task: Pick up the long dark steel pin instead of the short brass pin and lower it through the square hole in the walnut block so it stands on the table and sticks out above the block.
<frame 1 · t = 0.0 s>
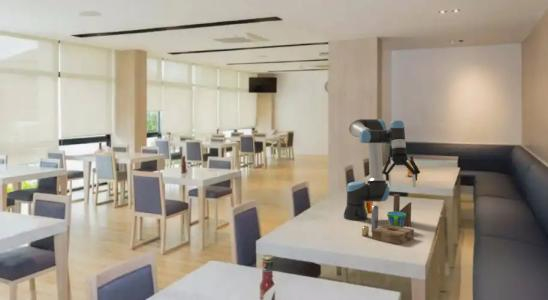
hand: (402, 186, 240), 28 cm above the table, tool tilted 20°, fingers open, 13 cm apart
hole block: (392, 238, 241), on the table
snack cup: (396, 231, 258), on the table
short brass pin: (365, 235, 246), on the table
long steel pin: (374, 232, 254), on the table
brown forked bracket: (401, 224, 273), on the table
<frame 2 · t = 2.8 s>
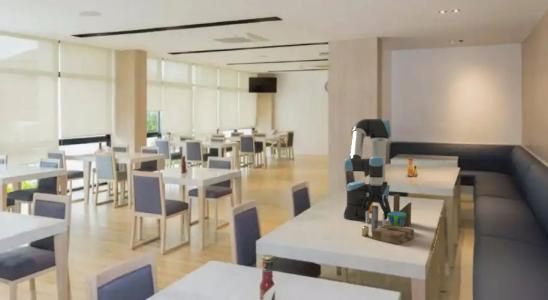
hand: (375, 223, 253), 5 cm above the table, tool pointing down, fingers open, 10 cm apart
nothing on the table moved.
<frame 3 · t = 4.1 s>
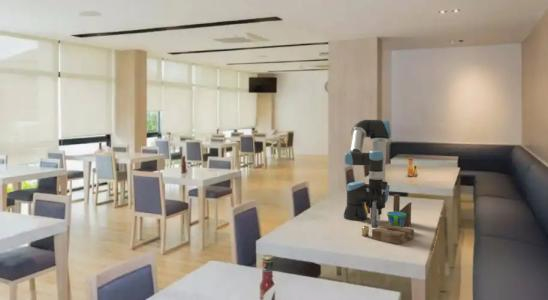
hand: (374, 219, 254), 7 cm above the table, tool pointing down, fingers closed on long steel pin, 4 cm apart
long steel pin: (374, 227, 254), point 3 cm above the table, touching gripper
everything else where it was.
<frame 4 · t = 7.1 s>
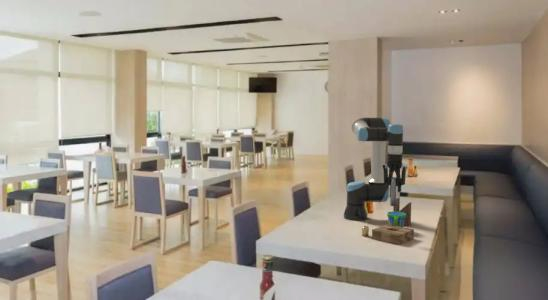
hand: (393, 197, 239), 22 cm above the table, tool pointing down, fingers closed on long steel pin, 4 cm apart
long steel pin: (393, 205, 239), point 18 cm above the table, touching gripper
everything else where it was.
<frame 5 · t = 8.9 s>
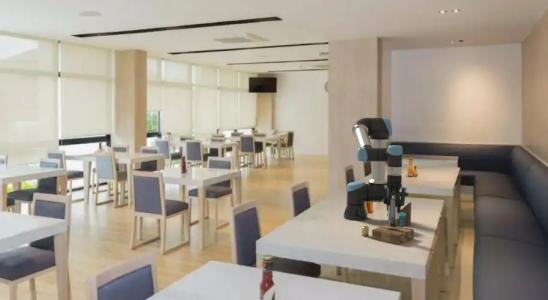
hand: (393, 218, 240), 11 cm above the table, tool pointing down, fingers closed on long steel pin, 4 cm apart
long steel pin: (393, 226, 240), point 7 cm above the table, touching gripper
everything else where it was.
when the fingers open (7 cm above the table, at t = 10.1 s): long steel pin drops 2 cm, resting in hole block.
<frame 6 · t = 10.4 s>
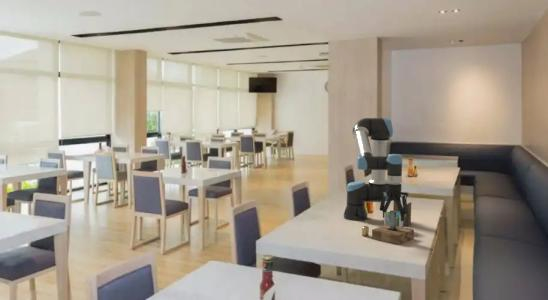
hand: (393, 225, 240), 7 cm above the table, tool pointing down, fingers open, 8 cm apart
long steel pin: (392, 238, 241), resting in hole block
everything else where it was.
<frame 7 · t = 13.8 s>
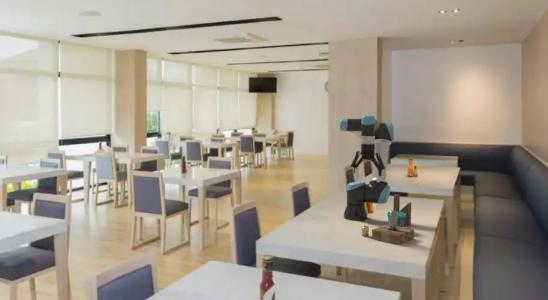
hand: (367, 180, 254), 29 cm above the table, tool pointing down, fingers open, 13 cm apart
nothing on the table moved.
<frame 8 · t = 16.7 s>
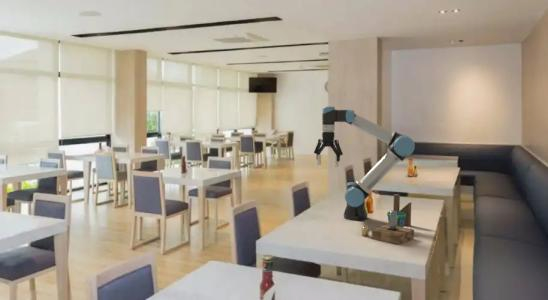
hand: (327, 165, 278), 35 cm above the table, tool pointing down, fingers open, 13 cm apart
nothing on the table moved.
at the end: long steel pin 0.0 cm off-centre on the hole block, point 0.0 cm above the hole block's base; long steel pin tilted 0°; short brass pin moved 0.0 cm from its start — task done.
